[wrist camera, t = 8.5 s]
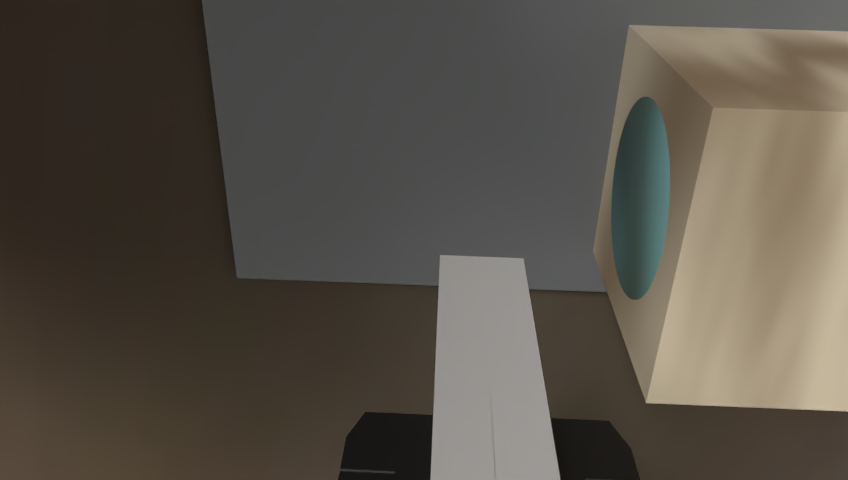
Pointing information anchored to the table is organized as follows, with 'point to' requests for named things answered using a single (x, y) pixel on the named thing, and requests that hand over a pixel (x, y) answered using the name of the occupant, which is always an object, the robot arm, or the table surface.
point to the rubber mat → (432, 128)
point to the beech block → (730, 216)
